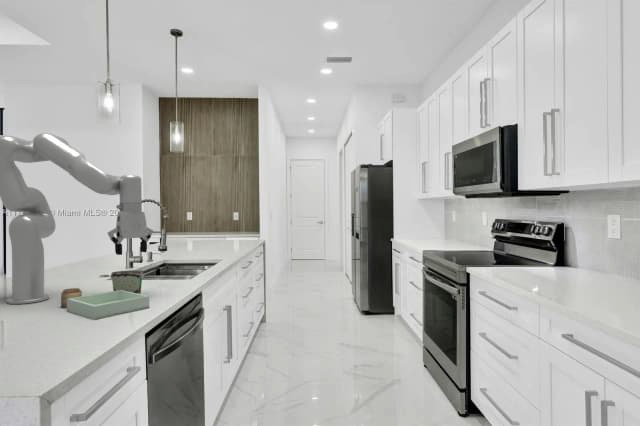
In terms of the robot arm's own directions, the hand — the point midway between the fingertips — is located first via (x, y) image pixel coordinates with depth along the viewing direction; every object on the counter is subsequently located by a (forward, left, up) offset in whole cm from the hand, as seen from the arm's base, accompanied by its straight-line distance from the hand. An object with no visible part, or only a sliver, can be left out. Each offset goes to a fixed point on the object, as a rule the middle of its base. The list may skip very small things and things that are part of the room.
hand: (131, 253), depth 151 cm
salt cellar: (-4, -19, -17) cm, 26 cm away
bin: (+11, -14, -17) cm, 25 cm away
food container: (0, 0, -17) cm, 17 cm away
